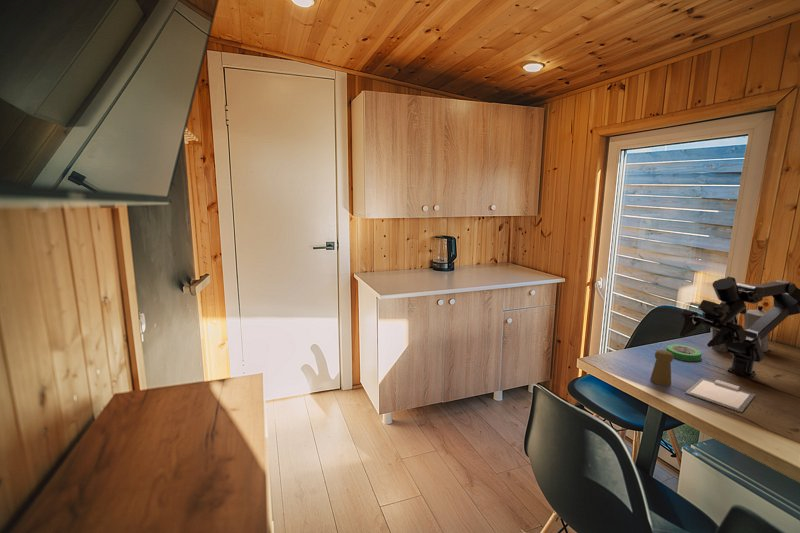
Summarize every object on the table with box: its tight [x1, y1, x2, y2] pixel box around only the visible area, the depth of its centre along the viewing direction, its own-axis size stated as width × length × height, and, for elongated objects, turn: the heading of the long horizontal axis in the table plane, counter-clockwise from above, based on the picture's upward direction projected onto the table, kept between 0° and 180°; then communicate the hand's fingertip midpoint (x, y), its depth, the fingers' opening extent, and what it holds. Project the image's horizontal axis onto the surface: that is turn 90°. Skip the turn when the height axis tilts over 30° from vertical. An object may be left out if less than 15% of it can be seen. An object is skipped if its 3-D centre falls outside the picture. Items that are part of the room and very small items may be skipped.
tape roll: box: [666, 344, 702, 362], centre depth 152 cm, size 11×11×3 cm
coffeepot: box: [734, 305, 770, 353], centre depth 158 cm, size 15×9×18 cm, turn 45°
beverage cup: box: [711, 320, 735, 353], centre depth 155 cm, size 7×7×20 cm
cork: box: [649, 349, 674, 387], centre depth 130 cm, size 6×6×11 cm
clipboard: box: [684, 377, 756, 414], centre depth 123 cm, size 16×14×1 cm
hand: (693, 340), depth 128 cm, fingers open, 9 cm apart
